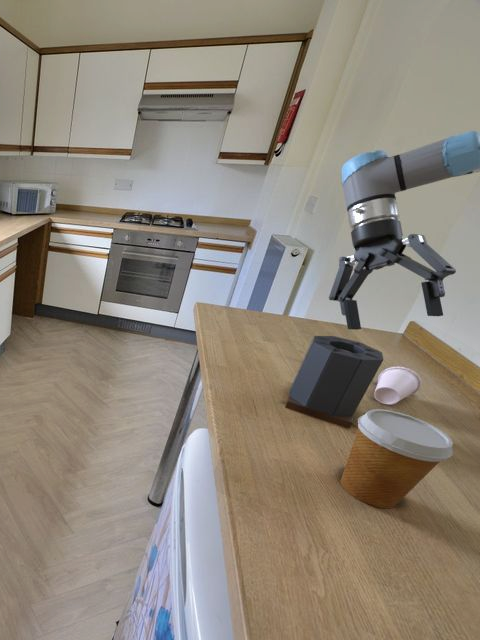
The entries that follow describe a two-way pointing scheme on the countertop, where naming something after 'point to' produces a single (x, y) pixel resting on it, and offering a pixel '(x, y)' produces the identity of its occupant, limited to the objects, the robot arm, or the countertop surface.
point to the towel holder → (338, 420)
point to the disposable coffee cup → (392, 456)
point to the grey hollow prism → (335, 375)
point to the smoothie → (396, 384)
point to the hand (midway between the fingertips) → (391, 323)
